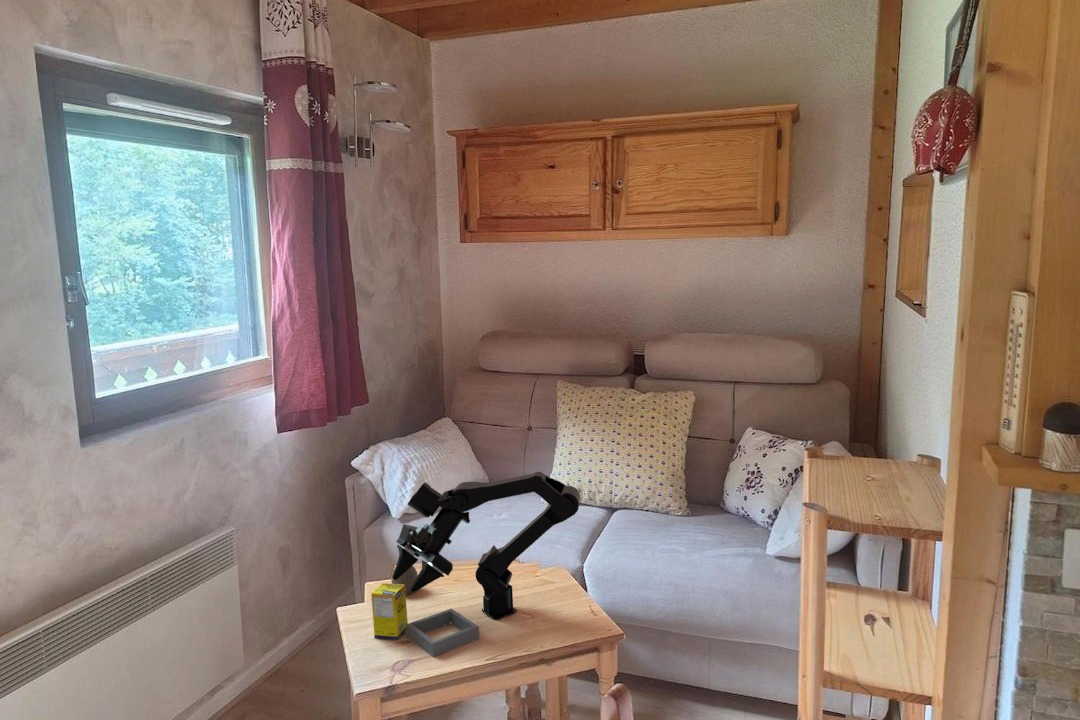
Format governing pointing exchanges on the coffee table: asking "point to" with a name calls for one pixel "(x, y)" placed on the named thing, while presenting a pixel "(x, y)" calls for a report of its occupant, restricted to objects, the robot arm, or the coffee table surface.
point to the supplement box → (389, 611)
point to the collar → (448, 642)
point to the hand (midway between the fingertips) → (402, 585)
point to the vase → (406, 579)
